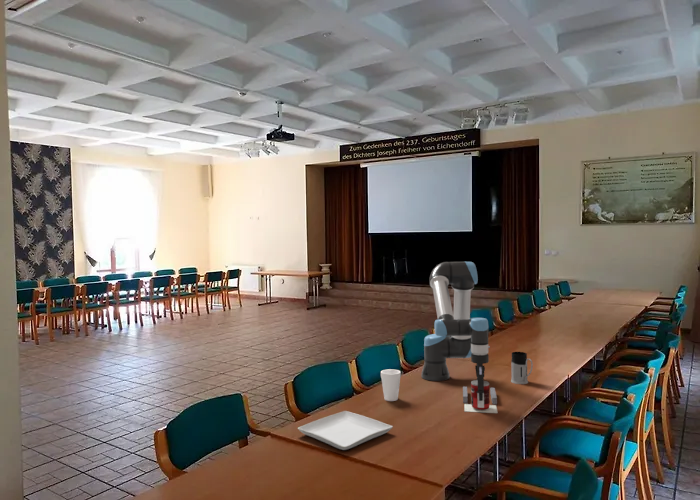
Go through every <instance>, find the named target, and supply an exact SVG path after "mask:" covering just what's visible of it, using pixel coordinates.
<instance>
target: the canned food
mask: <svg viewBox="0 0 700 500" xmlns="http://www.w3.org/2000/svg"><path fill="white" fill-rule="evenodd" d="M470 391H471V394H470V395H471V398H470V399H471V400H470V401H471V403H470V404H471V405H472V407H473V408H475V409H480V410H485V409H488V408H489V406H490V405H491V404H490V382H489V381H487V380H484V408H478V397H477V393H476V391H478V380H477V379H476V380H471V382H470Z"/></svg>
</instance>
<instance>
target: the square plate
mask: <svg viewBox="0 0 700 500" xmlns="http://www.w3.org/2000/svg"><path fill="white" fill-rule="evenodd" d="M393 427H394V426H393V425H391V424H389V423H388V424H387V423H385V422H383V421H381V420H377V419H375V418H371V417H367V416H365V415H363V414H358V413H354V412H351V411H349V410H348V411H347V410H343V411H340V412H337V413H334V414H330V415H328V416H324V417H321V418H319V419H317V420H313V421H311V422H308V423H306V424H304V425H301V426H299V427H297V430H299V432H301V433H302V434H303V435H305V436H308V437H311V438H313V439H316V440H318V441H320V442H323V443H324V444H328V445H329V446H332V447H333V448H336V449H338V450H342V451H347V450H349V449H352V448H355V447H358V445H361V444H363V443H365V442H368V441H370V440H373V439H375V438H378V437H380V436H382V435H385V434H386V433H388V432H389V431H391V430H392V429H393Z"/></svg>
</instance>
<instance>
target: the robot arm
mask: <svg viewBox="0 0 700 500" xmlns="http://www.w3.org/2000/svg"><path fill="white" fill-rule="evenodd" d="M478 278H479V277H478V271H477V267H476V264H475V263H474V262H472V261H443V262H440V263H439V264H436V266H435V267H434V268H433V269H432V270H431V272H430V275H429V286H430V288H432V293H433V298H434V305H435V310H436V316H437V319H435V321H434V333H432V334H427V335H426V336H425V337H424V339H423V341H424V344H423V346H424V347H423V348H424V349H423V351H424V354H423V355H424V363H423V366H422V370H421V378H422V379H424V380H427V381H432V382H433V381H435V382H438V381H439V382H440V381H441V382H442V381H446V380H449V379H450V372H449V368H448V365H447V359H469V358H470V359H471V363H473V364H475V365H474V366H475V368H474V369H475V374H476V375H475V376H476V380H478V391H476V393H477V397H478V408H484V381H485V379H484V377H485V371H486V370H485V369H486V367H485V365H484V364H488V363H489V361H490V360H489V357H490V356H489V349H490V348H491V346H490V345H489V327H490V326H489V321H488V319H487V318H486V317H485V318H484V317H471V315H470V314H471V294H472V293H471V291H472V290H473V289H474V288H475V285H477V284H478V280H479V279H478ZM449 285H451V286H450V287H451V288H452V290H453V293H454V294H453V307H452V301H451V296H450V291H449Z"/></svg>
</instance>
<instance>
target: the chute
mask: <svg viewBox="0 0 700 500" xmlns="http://www.w3.org/2000/svg"><path fill="white" fill-rule="evenodd" d="M489 395H490V399H491V403H492V404H490V406H489V408H488V409H485V410H480V409H475V408H473V407H472V405H471V403H468V400H469V399H468V386H462V403H464V410H463V411H464V412H465V413H469V412H470V413H485V414H486V413H487V414H499V413H498V408H497V405H498V397H497V392H496V388H495V387H489Z"/></svg>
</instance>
